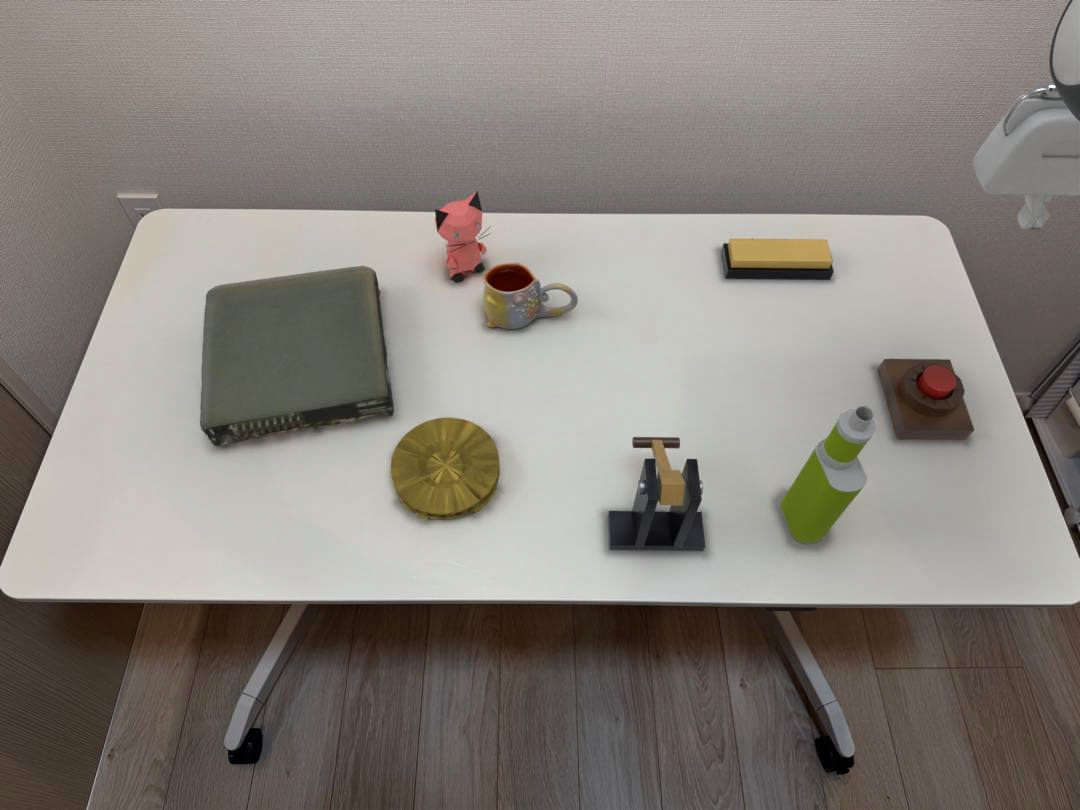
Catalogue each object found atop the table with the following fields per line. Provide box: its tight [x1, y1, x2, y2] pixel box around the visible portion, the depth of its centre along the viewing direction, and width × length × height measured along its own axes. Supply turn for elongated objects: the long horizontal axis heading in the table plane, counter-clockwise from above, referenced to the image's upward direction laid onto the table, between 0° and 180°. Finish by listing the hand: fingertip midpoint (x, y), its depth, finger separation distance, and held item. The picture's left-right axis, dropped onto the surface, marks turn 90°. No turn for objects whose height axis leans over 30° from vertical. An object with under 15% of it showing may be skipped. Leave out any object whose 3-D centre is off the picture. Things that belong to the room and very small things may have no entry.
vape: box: [780, 405, 876, 545], centre depth 75 cm, size 4×6×20 cm, turn 11°
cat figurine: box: [434, 190, 491, 284], centre depth 98 cm, size 7×7×12 cm
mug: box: [482, 262, 579, 330], centre depth 96 cm, size 12×7×7 cm, turn 80°
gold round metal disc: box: [389, 417, 501, 521], centre depth 85 cm, size 12×12×2 cm
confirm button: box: [918, 366, 956, 399], centre depth 88 cm, size 4×4×2 cm
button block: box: [877, 358, 975, 441], centre depth 90 cm, size 10×8×4 cm
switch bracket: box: [607, 457, 706, 552], centre depth 77 cm, size 4×10×13 cm, turn 89°
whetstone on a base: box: [720, 238, 835, 281], centre depth 102 cm, size 5×14×3 cm, turn 90°
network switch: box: [199, 265, 395, 447], centre depth 92 cm, size 23×24×5 cm
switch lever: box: [631, 436, 685, 506], centre depth 78 cm, size 12×5×2 cm
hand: (1060, 224), depth 67 cm, fingers open, 4 cm apart
